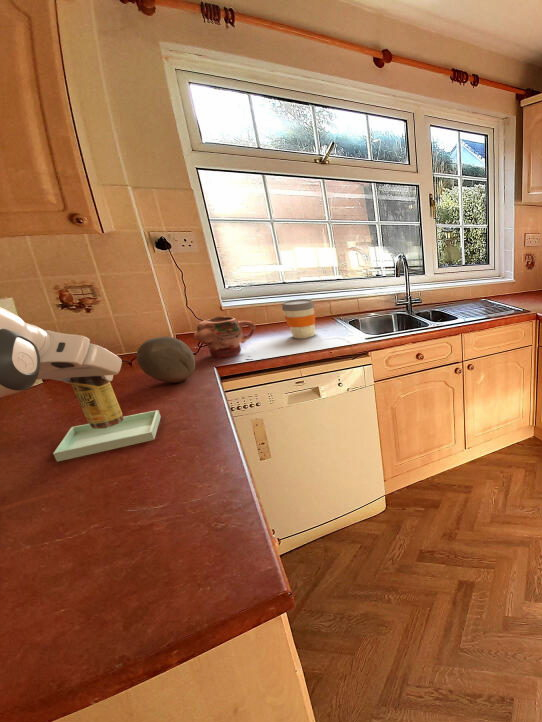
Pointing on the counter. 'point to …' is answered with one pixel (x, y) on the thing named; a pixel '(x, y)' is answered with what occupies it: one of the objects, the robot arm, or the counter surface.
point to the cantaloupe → (166, 359)
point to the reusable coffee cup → (300, 317)
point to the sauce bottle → (97, 401)
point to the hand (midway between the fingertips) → (92, 379)
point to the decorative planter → (223, 335)
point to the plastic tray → (108, 436)
